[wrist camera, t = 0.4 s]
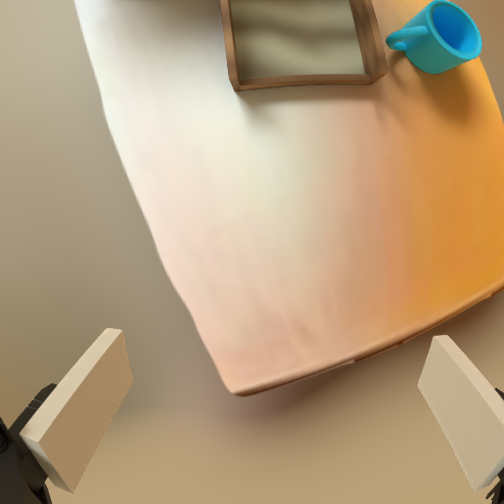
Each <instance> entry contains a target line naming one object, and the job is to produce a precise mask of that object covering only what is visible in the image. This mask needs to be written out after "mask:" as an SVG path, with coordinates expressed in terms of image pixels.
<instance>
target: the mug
mask: <svg viewBox="0 0 504 504" xmlns="http://www.w3.org/2000/svg"><path fill="white" fill-rule="evenodd" d="M399 41H400V42H399ZM386 43H387V45H388V46H389V48H391V49H393V50H398V51H404V53H405V54H406V56H407V58H408V59H409V60H410V61H411V62H412V63H413V64H414V65H415V66H416V67H418V68H419V69H420V70H422V71H425V72H427V73H431V74H439V73H442V72H445V71H447V70H449V69H452V68H454V67H456V66H458V65H461V64H463V63H465V62H468V61H470V60H472V59H475V58H476V57H477V56H478V55H479V54H480V51H481V49H482V39H481V36H480V32H479V30H478V28H477V26H476V24H475V23H474V21H473V20H472V19H471V17H470V16H469V15H468V14H467V13H466V12H465V11H464V10H463V9H461V8H460V7H459V6H457V5H456V4H454V3H452V2H450V1H446V0H434V1H432V2H431V3H429V4H428V5H427V6H426V7H425V8H424V9H423V10H421V11H420V12H419V13H418V14H417V15H416V16H415V17H414V18H413V19H412V20H410V21H409V22H408V23H407V24H406V25H405V26H404V27H403V29H402V30H399V31H396V32H394V33H392V34H391V35H389V36H388V37H387V39H386Z"/></svg>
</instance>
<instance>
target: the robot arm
mask: <svg viewBox="0 0 504 504" xmlns="http://www.w3.org/2000/svg"><path fill="white" fill-rule="evenodd" d="M132 383H133V378H132V374H131V370H130V365H129V361H128V356H127V351H126V346H125V340H124V335H123V330H118V329H111V328H107V329H106V330H105V331H104V332H103V333H102V334H101V335H100V336H99V337H98V339H97V340H96V341H95V342H94V343H93V344H92V345H91V347H90V348H89V349H88V350H87V351H86V352H85V353H84V355H83V356H82V357H81V358H80V359H79V361H78V362H77V363H76V364H75V365H74V366H73V367H72V369H71V370H70V371H69V372H68V374H67V375H66V376H65V377H64V378H63V379H62V381H61V382H60V383H59V384H58V385H56V384H53V383H52V384H50V385H48V386H47V387H45V388H43V389H42V390H41V391H40V392H39V393H38V394H37V396H36V397H35V398H34V400H32V401H31V403H30V404H29V405H28V407H26V409H25V410H24V411H23V412H22V413H21V415H20V416H19V417H18V418H17V419H16V421H15V422H14V423H13V424H12V426H11V427H10V428H9V429H7V427H6V425H5V424H4V422H3V420H2V419H1V417H0V504H52V502H51V498H50V495H49V492H48V488H47V486H46V484H45V483H44V482H45V481H46V479H47V477H49V479H50V480H51V481H52V483H53V484H54V485H55V486H57V487H59V488H61V489H64V490H66V491H68V492H71V493H74V491H75V489H76V487H77V485H78V483H79V481H80V479H81V477H82V475H83V473H84V471H85V469H86V467H87V465H88V463H89V462H90V460H91V458H92V456H93V454H94V452H95V450H96V448H97V446H98V444H99V443H100V441H101V439H102V437H103V435H104V433H105V431H106V430H107V428H108V426H109V424H110V422H111V420H112V419H113V417H114V415H115V413H116V411H117V409H118V408H119V406H120V404H121V402H122V400H123V399H124V397H125V395H126V393H127V392H128V390H129V388H130V386H131V384H132ZM417 387H418V388H419V390H420V392H421V393H422V395H423V397H424V399H425V400H426V402H427V404H428V406H429V407H430V409H431V411H432V413H433V414H434V416H435V418H436V420H437V421H438V423H439V425H440V427H441V429H442V431H443V432H444V434H445V436H446V438H447V440H448V442H449V444H450V445H451V447H452V449H453V451H454V453H455V455H456V457H457V459H458V461H459V463H460V465H461V467H462V469H463V471H464V473H465V475H466V477H467V479H468V481H469V483H470V485H471V487H472V489H473V491H477V490H480V489H482V488H484V487H486V486H488V485H490V484H491V482H492V481H493V480H494V479H495V478H496V477H497V475H498V477H499V478H500V481H499V482H498V483H497V485H496V486H495V487H494V488H493V489H492V490H491V491H490V492H489V493H488V495H487V497H486V499H488V498H489V497H490V496H491V495H492V494H493V493H494V492H495V493H494V496H493V498H492V499H491V500H492V504H504V393H503V392H502V391H500V390H499V389H497V388H495V389H494V388H493V387H492V386H491V385H490V383H489V382H488V381H487V380H486V379H485V377H484V376H483V375H482V374H481V373H480V372H479V370H478V369H477V368H476V367H475V366H474V365H473V363H472V362H471V361H470V360H469V359H468V358H467V357H466V355H465V354H464V353H463V352H462V351H461V350H460V349H459V347H458V346H457V345H456V344H455V343H454V342H453V341H452V340H451V339H450V338H449V336H448V335H442V336H434V337H433V340H432V343H431V347H430V350H429V353H428V356H427V359H426V362H425V365H424V368H423V371H422V374H421V376H420V379H419V382H418V385H417Z"/></svg>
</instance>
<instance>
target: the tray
mask: <svg viewBox="0 0 504 504" xmlns="http://www.w3.org/2000/svg"><path fill="white" fill-rule="evenodd" d="M220 4H221V13H222V22H223V31H224V40H225V49H226V57H227V66H228V75H229V80H230V82H231V84H232V87H233V89H234V91H235V92H236V91H244V90H253V89H262V88H273V87H285V86H301V85H328V84H362V85H371V84H373V83H374V82H375V81H377V80H378V79H380V78H381V77H382V76H384V75H385V74H387V73H388V68H387V63H386V58H385V53H384V49H383V44H382V40H381V36H380V32H379V28H378V24H377V20H376V16H375V12H374V9H373V5H372V2H371V0H220Z"/></svg>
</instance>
